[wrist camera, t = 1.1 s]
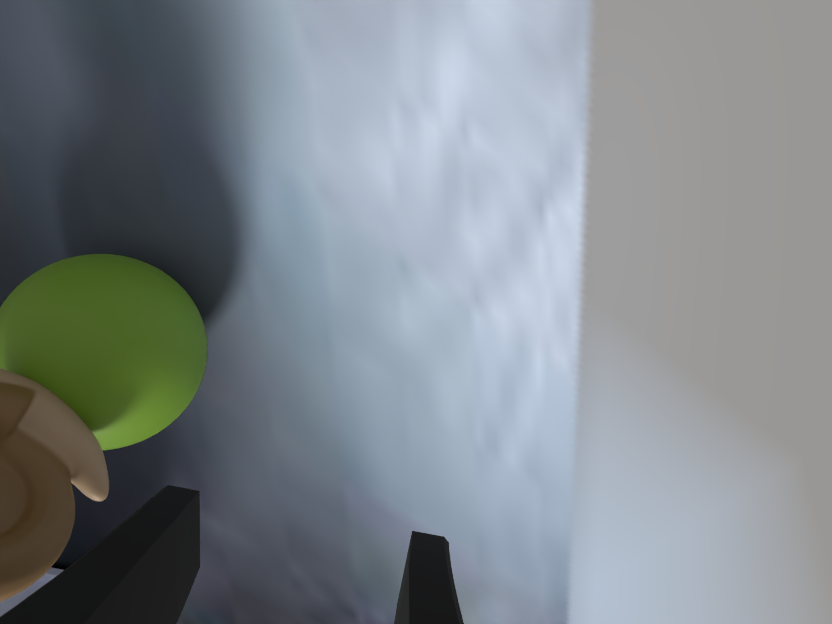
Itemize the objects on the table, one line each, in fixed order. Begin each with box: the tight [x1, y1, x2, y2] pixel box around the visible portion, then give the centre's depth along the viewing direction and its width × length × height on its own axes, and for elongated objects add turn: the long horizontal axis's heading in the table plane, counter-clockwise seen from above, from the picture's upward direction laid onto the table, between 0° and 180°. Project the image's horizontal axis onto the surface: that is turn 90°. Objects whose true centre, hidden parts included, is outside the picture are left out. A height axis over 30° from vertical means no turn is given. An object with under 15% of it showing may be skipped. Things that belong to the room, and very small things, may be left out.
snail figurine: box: [0, 254, 207, 602], centre depth 14 cm, size 5×6×12 cm
